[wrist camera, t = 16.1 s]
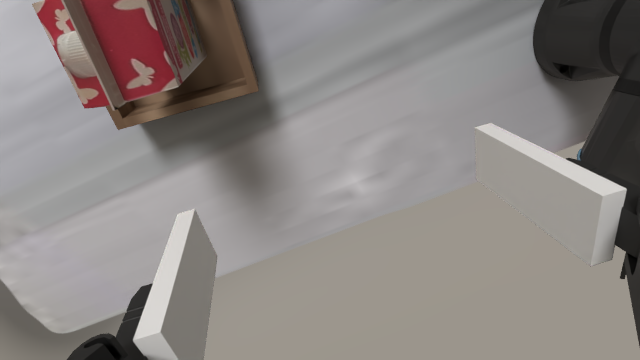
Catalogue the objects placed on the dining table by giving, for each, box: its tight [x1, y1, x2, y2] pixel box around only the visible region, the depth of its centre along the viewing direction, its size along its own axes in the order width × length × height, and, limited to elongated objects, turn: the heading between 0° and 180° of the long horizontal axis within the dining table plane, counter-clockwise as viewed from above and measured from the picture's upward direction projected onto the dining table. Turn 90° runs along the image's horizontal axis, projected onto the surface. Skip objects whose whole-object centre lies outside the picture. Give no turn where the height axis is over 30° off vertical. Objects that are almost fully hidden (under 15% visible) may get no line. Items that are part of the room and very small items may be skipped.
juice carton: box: [32, 0, 207, 111], centre depth 30 cm, size 7×7×22 cm
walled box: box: [106, 0, 259, 130], centre depth 38 cm, size 16×16×6 cm
